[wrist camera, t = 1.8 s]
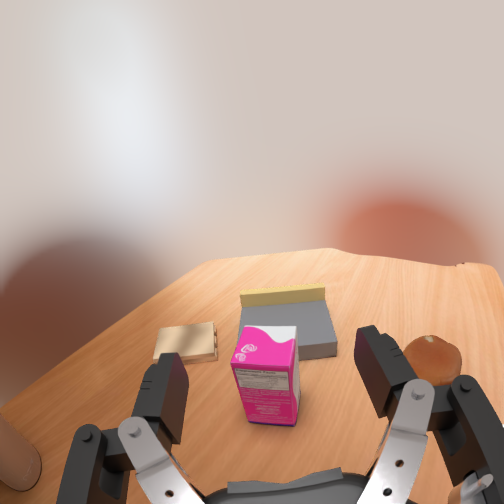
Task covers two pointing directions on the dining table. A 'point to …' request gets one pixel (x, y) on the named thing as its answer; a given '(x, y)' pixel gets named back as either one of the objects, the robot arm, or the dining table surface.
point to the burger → (434, 360)
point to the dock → (293, 316)
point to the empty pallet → (188, 342)
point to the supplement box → (268, 374)
